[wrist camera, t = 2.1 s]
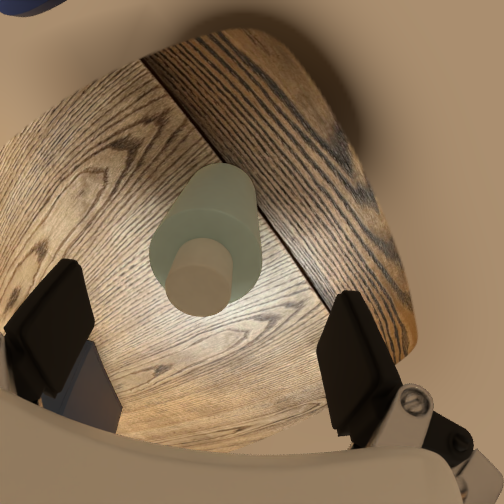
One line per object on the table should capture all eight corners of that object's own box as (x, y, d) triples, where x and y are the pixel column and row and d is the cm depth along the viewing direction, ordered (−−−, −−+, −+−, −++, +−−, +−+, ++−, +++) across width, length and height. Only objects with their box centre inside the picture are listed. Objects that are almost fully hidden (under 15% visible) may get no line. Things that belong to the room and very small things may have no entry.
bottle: (175, 178, 18) (110, 257, 9) (241, 152, 17) (236, 209, 8) (202, 237, 20) (173, 347, 11) (265, 215, 20) (281, 321, 10)
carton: (21, 320, 25) (-26, 400, 13) (93, 341, 26) (51, 445, 14) (60, 388, 33) (35, 455, 21) (122, 407, 34) (104, 483, 22)
